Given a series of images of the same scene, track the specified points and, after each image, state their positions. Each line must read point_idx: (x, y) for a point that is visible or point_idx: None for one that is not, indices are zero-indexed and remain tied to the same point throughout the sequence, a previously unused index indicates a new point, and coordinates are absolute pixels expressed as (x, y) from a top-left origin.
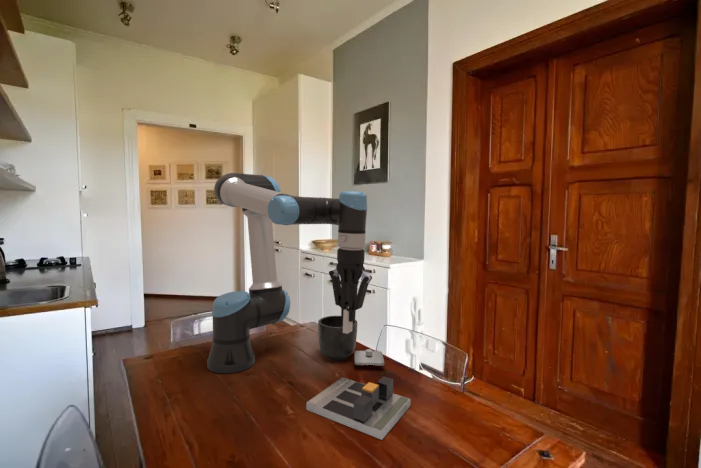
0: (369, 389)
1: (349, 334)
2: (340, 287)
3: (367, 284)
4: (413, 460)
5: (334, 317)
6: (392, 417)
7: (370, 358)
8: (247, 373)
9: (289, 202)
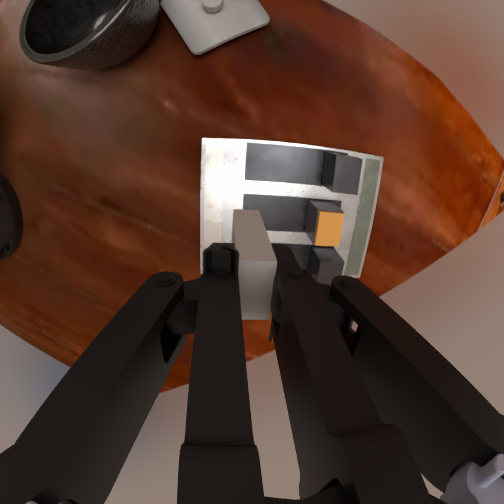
0: (331, 242)
1: (139, 11)
2: (123, 389)
3: (485, 420)
4: (396, 283)
5: None
6: (367, 235)
7: (223, 15)
8: (32, 224)
9: None
